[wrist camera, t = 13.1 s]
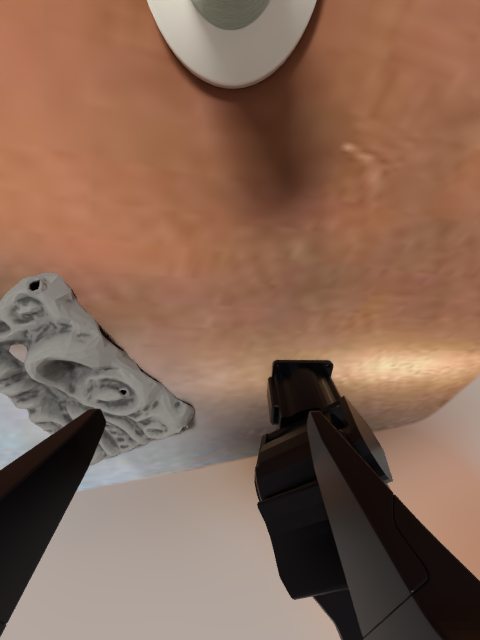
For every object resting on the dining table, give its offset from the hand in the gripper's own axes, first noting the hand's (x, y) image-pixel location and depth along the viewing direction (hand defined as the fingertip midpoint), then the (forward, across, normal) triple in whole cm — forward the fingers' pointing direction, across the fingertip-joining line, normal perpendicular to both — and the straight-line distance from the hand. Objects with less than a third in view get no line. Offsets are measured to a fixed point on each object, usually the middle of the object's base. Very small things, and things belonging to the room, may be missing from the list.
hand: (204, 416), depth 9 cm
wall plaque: (+14, +18, +10) cm, 25 cm away
